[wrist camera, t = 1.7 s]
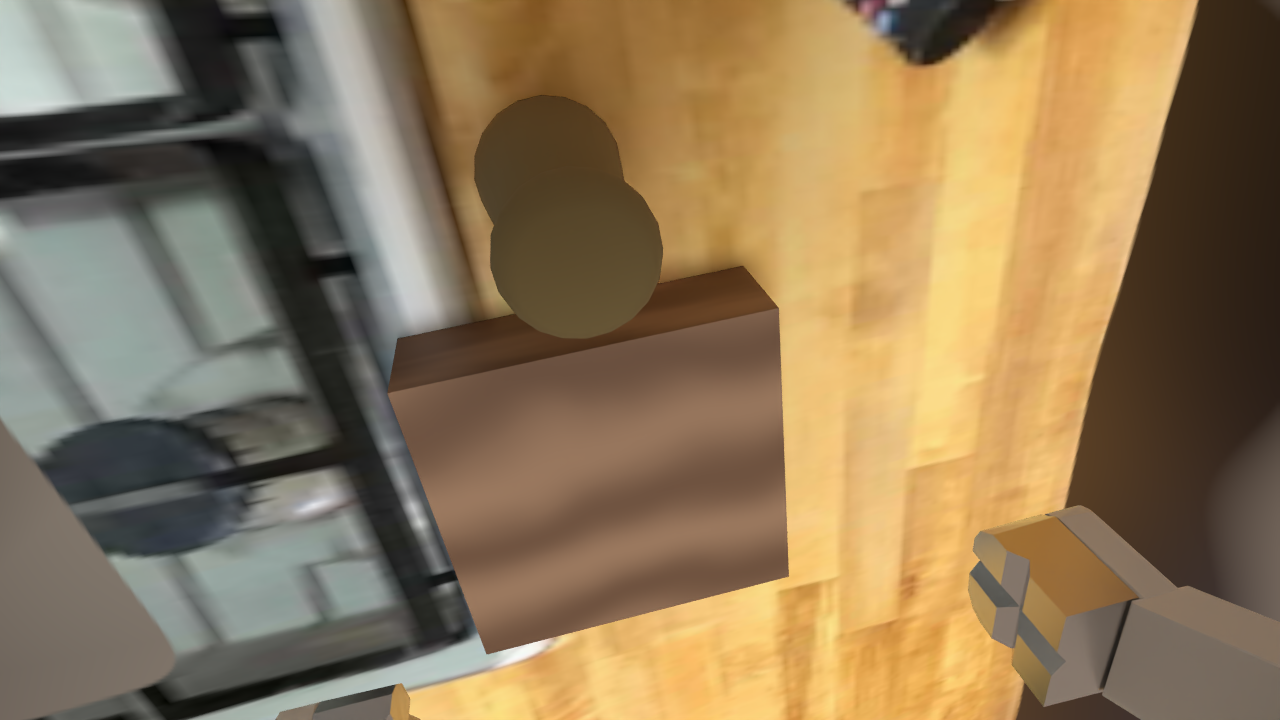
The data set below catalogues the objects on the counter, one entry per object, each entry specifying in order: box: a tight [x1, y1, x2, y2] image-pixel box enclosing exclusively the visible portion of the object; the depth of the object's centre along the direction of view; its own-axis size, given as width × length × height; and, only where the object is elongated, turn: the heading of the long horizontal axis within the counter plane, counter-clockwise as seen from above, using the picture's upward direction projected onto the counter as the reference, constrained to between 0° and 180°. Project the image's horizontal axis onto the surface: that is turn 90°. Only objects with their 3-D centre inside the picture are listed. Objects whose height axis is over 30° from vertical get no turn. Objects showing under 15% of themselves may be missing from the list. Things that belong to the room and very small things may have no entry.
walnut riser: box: [388, 266, 789, 654], centre depth 35 cm, size 16×16×5 cm
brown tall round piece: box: [474, 95, 663, 339], centre depth 25 cm, size 6×6×11 cm
